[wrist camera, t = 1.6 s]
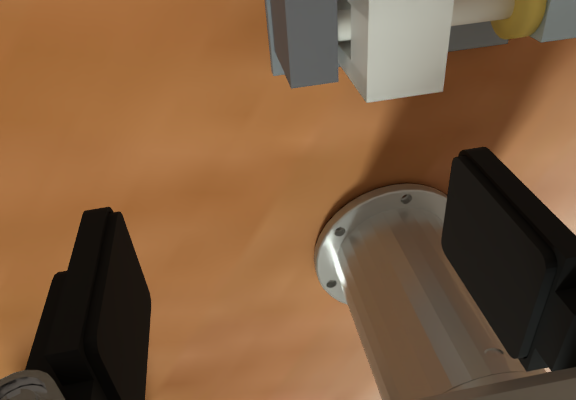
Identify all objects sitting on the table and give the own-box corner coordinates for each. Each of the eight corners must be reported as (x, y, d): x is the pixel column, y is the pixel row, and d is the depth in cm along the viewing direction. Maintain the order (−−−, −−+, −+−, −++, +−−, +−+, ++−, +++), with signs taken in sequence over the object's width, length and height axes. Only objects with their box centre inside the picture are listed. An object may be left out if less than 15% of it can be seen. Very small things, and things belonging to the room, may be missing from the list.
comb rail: (527, -106, 27) (622, -92, 21) (501, 39, 32) (572, 83, 26) (257, -77, 26) (279, -53, 20) (271, 70, 30) (292, 125, 25)
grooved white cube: (401, -44, 25) (455, -16, 20) (395, 46, 28) (442, 91, 23) (331, -36, 24) (369, -5, 19) (332, 55, 27) (366, 102, 22)
